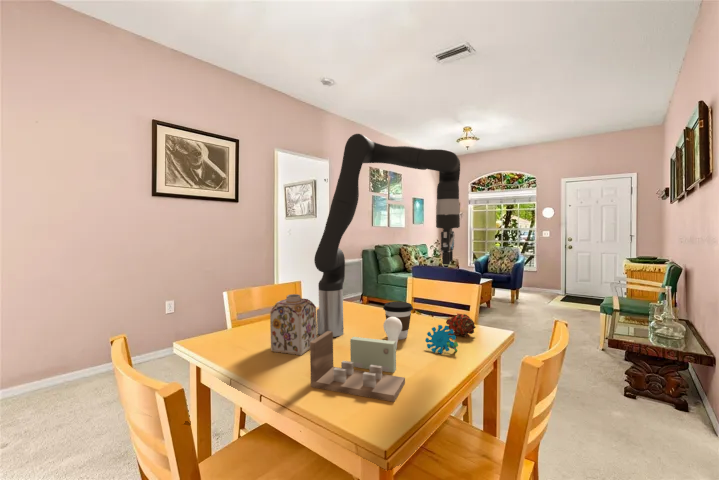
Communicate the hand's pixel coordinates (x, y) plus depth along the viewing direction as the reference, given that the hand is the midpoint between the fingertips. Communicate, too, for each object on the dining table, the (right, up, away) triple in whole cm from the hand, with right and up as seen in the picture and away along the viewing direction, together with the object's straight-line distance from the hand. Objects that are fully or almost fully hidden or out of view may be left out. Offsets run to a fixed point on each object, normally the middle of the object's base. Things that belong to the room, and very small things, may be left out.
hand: (447, 262), depth 112 cm
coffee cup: (-15, -28, +14) cm, 35 cm away
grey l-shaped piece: (-29, -30, -25) cm, 49 cm away
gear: (-2, -29, -1) cm, 29 cm away
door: (-25, -29, -14) cm, 41 cm away
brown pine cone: (+8, -28, +15) cm, 33 cm away
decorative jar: (-51, -29, +3) cm, 59 cm away
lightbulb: (-18, -29, 0) cm, 34 cm away
